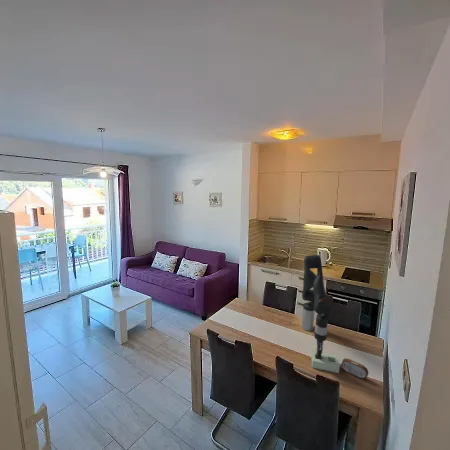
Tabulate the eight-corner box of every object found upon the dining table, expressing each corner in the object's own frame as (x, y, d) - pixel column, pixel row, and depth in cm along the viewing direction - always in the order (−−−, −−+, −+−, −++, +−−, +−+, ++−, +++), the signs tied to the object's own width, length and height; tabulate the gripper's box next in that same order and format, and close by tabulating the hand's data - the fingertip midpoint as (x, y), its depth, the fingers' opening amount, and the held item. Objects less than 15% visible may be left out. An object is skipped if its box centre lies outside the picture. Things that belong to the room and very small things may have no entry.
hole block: (311, 357, 172) (312, 350, 171) (336, 362, 168) (337, 355, 167) (312, 367, 163) (312, 360, 162) (338, 373, 158) (339, 366, 157)
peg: (315, 357, 168) (316, 343, 166) (320, 358, 167) (321, 344, 165) (316, 360, 165) (317, 346, 163) (320, 361, 164) (322, 347, 162)
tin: (367, 378, 154) (369, 366, 152) (366, 382, 152) (368, 369, 150) (341, 367, 163) (343, 355, 162) (340, 369, 161) (341, 358, 160)
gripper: (314, 324, 170) (312, 347, 173) (315, 336, 157) (313, 361, 160) (326, 326, 168) (324, 349, 171) (328, 338, 155) (325, 363, 158)
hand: (318, 355), depth 165 cm, fingers closed on peg, 3 cm apart
